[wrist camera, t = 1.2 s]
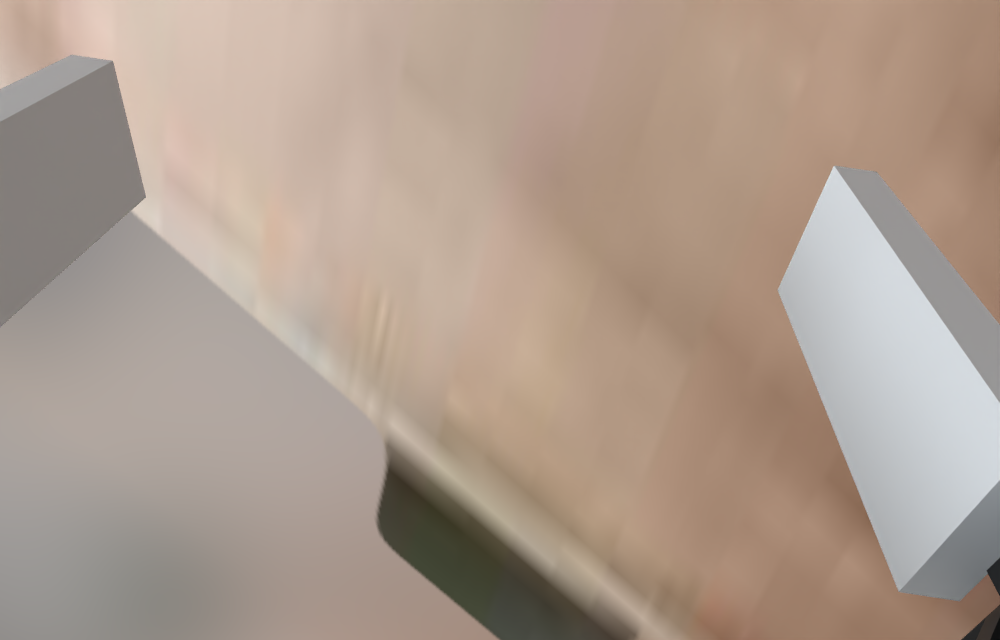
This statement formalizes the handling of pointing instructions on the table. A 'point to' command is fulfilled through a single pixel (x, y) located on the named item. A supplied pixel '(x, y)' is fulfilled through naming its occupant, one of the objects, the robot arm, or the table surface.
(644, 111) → the table surface
